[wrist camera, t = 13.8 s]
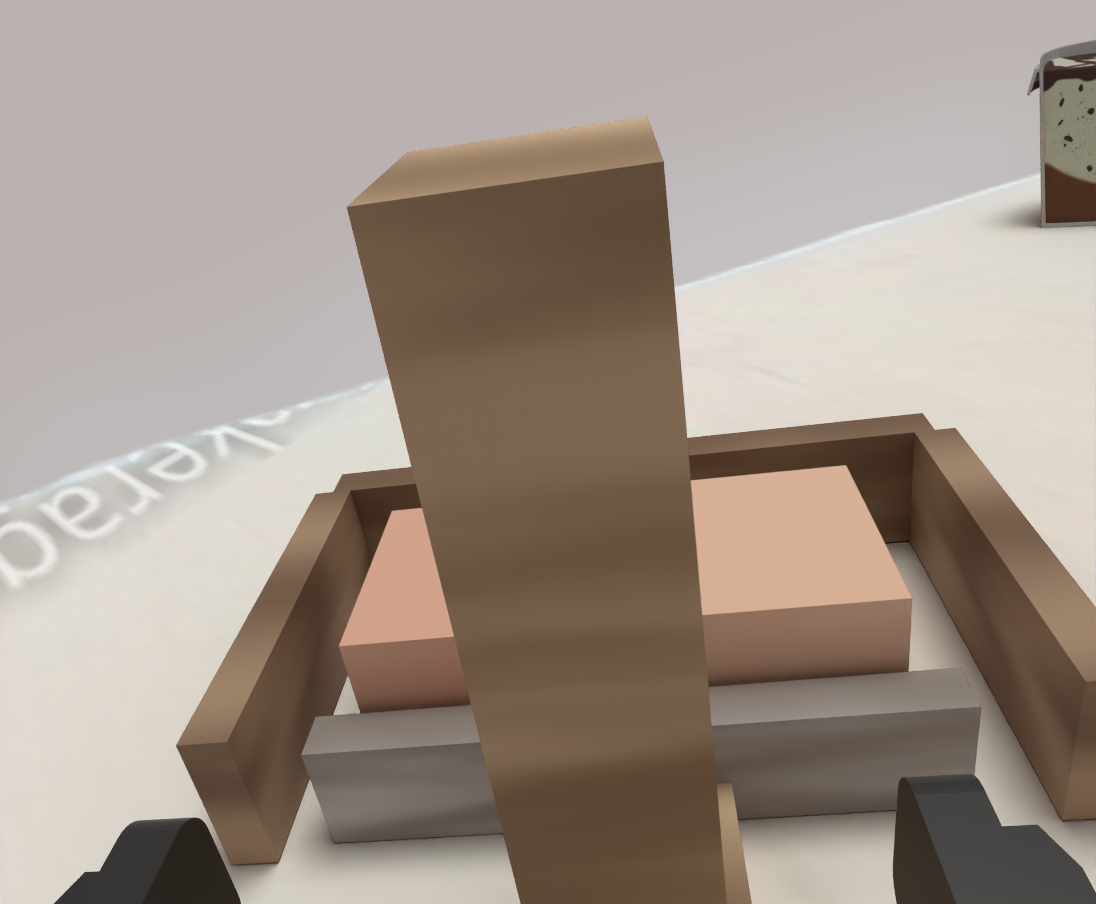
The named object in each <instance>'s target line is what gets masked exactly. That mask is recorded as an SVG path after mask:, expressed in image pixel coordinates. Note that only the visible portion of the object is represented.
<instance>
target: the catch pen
mask: <svg viewBox="0 0 1096 904" xmlns="http://www.w3.org/2000/svg"><path fill="white" fill-rule="evenodd" d="M687 442H688V454H689V466H690V477H691V480H701V479H711V478H721V477H731V476H742V475H752V474H762V473H772V472H782V471H792V470H802V469H813V468H823V467H833V466H843V465H846V466H847V468H848V470H849V472H850V474H851V476H852V478H853V480H854V482H855V484H856V486H857V488H858V490H859V492H860V494H861V496H862V498H863V500H864V502H865V504H866V506H867V508H868V510H869V512H870V514H871V516H872V518H873V520H874V522H875V524H876V526H877V528H878V530H879V532H880V534H881V536H882V538H883V541H884V543H887V542H898V541H910V542H911V544H912V546H913V548H914V550H915V552H916V553H917V555H918V557H919V559H920V561H921V563H922V564H923V566H924V568H925V570H926V572H927V574H928V575H929V577H930V579H931V581H932V583H933V585H934V586H935V588H936V590H937V592H938V594H939V596H940V597H941V599H942V601H943V603H944V605H945V607H946V608H947V610H948V612H949V614H950V616H951V618H952V619H953V621H954V623H955V625H956V627H957V629H958V630H959V632H960V634H961V636H962V638H963V640H964V641H965V643H966V645H967V647H968V649H969V651H970V652H971V654H972V656H973V658H974V660H975V662H976V663H977V665H978V667H979V669H980V671H981V673H982V674H983V676H984V678H985V680H986V682H987V684H988V685H989V687H990V689H991V691H992V693H993V695H994V696H995V698H996V700H997V702H998V704H999V706H1000V707H1001V709H1002V711H1003V713H1004V715H1005V717H1006V718H1007V720H1008V722H1009V724H1010V726H1011V728H1012V729H1013V731H1014V733H1015V735H1016V737H1017V739H1018V740H1019V742H1020V744H1021V746H1022V748H1023V750H1024V751H1025V753H1026V755H1027V757H1028V759H1029V761H1030V762H1031V764H1032V766H1033V768H1034V770H1035V772H1036V773H1037V775H1038V777H1039V779H1040V781H1041V783H1042V784H1043V786H1044V788H1045V790H1046V792H1047V794H1048V795H1049V797H1050V799H1051V801H1052V803H1053V805H1054V806H1055V808H1056V810H1057V812H1058V814H1059V816H1060V817H1061V819H1062V820H1078V819H1096V607H1095V606H1094V604H1093V603H1092V602H1091V601H1090V599H1089V598H1088V597H1087V595H1086V594H1085V593H1084V592H1083V590H1082V589H1081V588H1080V587H1079V585H1078V584H1077V583H1076V581H1075V580H1074V579H1073V578H1072V576H1071V575H1070V574H1069V572H1068V571H1067V570H1066V569H1065V567H1064V566H1063V565H1062V564H1061V562H1060V561H1059V560H1058V558H1057V557H1056V556H1055V555H1054V553H1053V552H1052V551H1051V550H1050V548H1049V547H1048V546H1047V544H1046V543H1045V542H1044V541H1043V539H1042V538H1041V537H1040V535H1039V534H1038V533H1037V532H1036V530H1035V529H1034V528H1033V527H1032V525H1031V524H1030V523H1029V521H1028V520H1027V519H1026V518H1025V516H1024V515H1023V514H1022V513H1021V511H1020V510H1019V509H1018V507H1017V506H1016V505H1015V504H1014V502H1013V501H1012V500H1011V498H1010V497H1009V496H1008V495H1007V493H1006V492H1005V491H1004V490H1003V488H1002V487H1001V486H1000V484H999V483H998V482H997V481H996V479H995V478H994V477H993V476H992V474H991V473H990V472H989V470H988V469H987V468H986V467H985V465H984V464H983V463H982V461H981V460H980V459H979V458H978V456H977V455H976V454H975V453H974V451H973V450H972V449H971V447H970V446H969V445H968V444H967V442H966V441H965V440H964V439H963V437H962V436H961V435H960V433H959V432H958V431H957V430H956V428H950V429H940V430H934V428H933V427H932V426H931V424H930V423H929V421H928V420H927V419H926V417H925V416H924V415H923V413H920V414H910V415H901V416H891V417H882V418H872V419H863V420H853V421H844V422H834V423H825V424H815V425H806V426H797V427H787V428H778V429H768V430H759V431H749V432H740V433H730V434H721V435H711V436H702V437H692V438H687ZM416 508H422V506H421V502H420V498H419V494H418V490H417V486H416V482H415V478H414V474H413V470H412V467H408V468H399V469H389V470H380V471H370V472H361V473H351V474H343V475H342V476H341V478H340V480H339V482H338V484H337V486H336V488H335V490H334V492H331V493H321V494H316V495H315V497H314V498H313V500H312V502H311V504H310V506H309V507H308V509H307V511H306V513H305V515H304V516H303V518H302V520H301V522H300V524H299V525H298V527H297V529H296V531H295V533H294V534H293V536H292V538H291V540H290V542H289V543H288V545H287V547H286V549H285V551H284V552H283V554H282V556H281V558H280V560H279V561H278V563H277V565H276V567H275V569H274V570H273V572H272V574H271V576H270V578H269V579H268V581H267V583H266V585H265V587H264V588H263V590H262V592H261V594H260V596H259V597H258V599H257V601H256V603H255V605H254V606H253V608H252V610H251V612H250V613H249V615H248V617H247V619H246V621H245V622H244V624H243V626H242V628H241V630H240V631H239V633H238V635H237V637H236V639H235V640H234V642H233V644H232V646H231V648H230V649H229V651H228V653H227V655H226V657H225V658H224V660H223V662H222V664H221V666H220V667H219V669H218V671H217V673H216V675H215V676H214V678H213V680H212V682H211V684H210V685H209V687H208V689H207V691H206V693H205V694H204V696H203V698H202V700H201V702H200V703H199V705H198V707H197V709H196V711H195V712H194V714H193V716H192V718H191V720H190V721H189V723H188V725H187V727H186V729H185V730H184V732H183V734H182V736H181V738H180V739H179V741H178V743H177V745H176V747H177V749H178V751H179V753H180V755H181V757H182V759H183V762H184V764H185V766H186V768H187V770H188V772H189V774H190V777H191V779H192V781H193V783H194V785H195V787H196V790H197V792H198V794H199V796H200V798H201V800H202V802H203V805H204V807H205V809H206V811H207V813H208V815H209V818H210V820H211V822H212V824H213V826H214V828H215V830H216V833H217V835H218V837H219V839H220V841H221V843H222V845H223V848H224V850H225V852H226V854H227V856H228V858H229V861H230V863H231V865H236V864H255V863H274V862H279V859H280V856H281V854H282V851H283V848H284V845H285V843H286V840H287V837H288V835H289V832H290V829H291V826H292V824H293V821H294V818H295V815H296V813H297V810H298V807H299V805H300V802H301V799H302V796H303V794H304V791H305V788H306V785H307V783H308V780H309V775H308V772H307V769H306V767H305V764H304V761H303V759H302V756H301V754H302V751H303V749H304V746H305V744H306V741H307V738H308V736H309V733H310V731H311V728H312V725H313V723H314V720H315V717H321V716H332V715H333V712H334V709H335V706H336V704H337V701H338V698H339V696H340V693H341V690H342V687H343V685H344V682H345V679H346V676H347V674H348V673H347V670H346V667H345V664H344V661H343V658H342V655H341V651H340V648H339V644H340V642H341V639H342V637H343V634H344V632H345V629H346V627H347V624H348V622H349V619H350V616H351V614H352V611H353V609H354V606H355V604H356V601H357V599H358V596H359V594H360V591H361V588H362V586H363V583H364V581H365V578H366V576H367V573H368V571H369V568H370V566H371V563H372V560H373V558H374V555H375V553H376V550H377V548H378V545H379V543H380V540H381V538H382V535H383V532H384V530H385V527H386V525H387V522H388V520H389V517H390V515H391V512H392V511H396V510H406V509H416Z"/></svg>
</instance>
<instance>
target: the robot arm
mask: <svg viewBox="0 0 1096 904" xmlns="http://www.w3.org/2000/svg"><path fill="white" fill-rule="evenodd" d="M893 880H894V889H895V896H896V902H897V904H1096V892H1095V890H1094V888H1093V887H1092V885H1091V883H1090V881H1089V879H1088V877H1087V876H1086V874H1085V872H1084V870H1083V868H1082V867H1081V866H1080V865H1079V864H1078V863H1077V862H1076V861H1075V860H1074V859H1073V858H1072V857H1071V856H1069V855H1068V854H1067V853H1066V852H1065V851H1064V850H1063V849H1062V848H1061V847H1060V846H1059V845H1058V844H1057V843H1056V842H1055V841H1054V840H1053V839H1052V838H1051V837H1050V836H1049V835H1048V834H1047V833H1046V832H1045V831H1043V830H1042V829H1041V828H1040V827H1039V826H1038V825H1023V826H1001V824H1000V822H999V819H998V817H997V815H996V813H995V811H994V809H993V807H992V805H991V803H990V800H989V798H988V796H987V794H986V792H985V790H984V788H983V786H982V784H981V783H980V781H979V780H978V779H977V778H976V776H974V775H973V774H956V775H938V776H919V777H902V778H901V779H900V781H899V784H898V794H897V810H896V825H895V841H894V857H893ZM54 904H241V902H240V898H239V896H238V893H237V891H236V889H235V887H234V884H233V882H232V880H231V878H230V876H229V873H228V871H227V869H226V867H225V865H224V862H223V860H222V858H221V856H220V854H219V852H218V849H217V847H216V845H215V843H214V841H213V838H212V836H211V834H210V832H209V830H208V828H207V826H206V824H205V823H204V822H203V821H202V820H201V819H199V818H178V819H159V820H140V821H135V822H133V823H131V824H130V825H128V826H127V827H126V828H125V829H124V830H123V832H122V833H121V834H120V836H119V838H118V839H117V841H116V843H115V845H114V846H113V848H112V850H111V852H110V853H109V855H108V857H107V859H106V861H105V862H104V864H103V866H102V868H101V870H100V871H99V872H84V874H83V875H82V876H81V877H80V878H79V879H78V880H77V881H76V882H75V883H74V884H73V885H72V886H71V887H70V888H69V889H68V890H67V891H66V892H65V893H64V894H63V895H62V896H61V897H60V898H59V899H58V900H57V901H56V902H55V903H54Z"/></svg>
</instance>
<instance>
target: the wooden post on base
mask: <svg viewBox="0 0 1096 904" xmlns="http://www.w3.org/2000/svg"><path fill="white" fill-rule="evenodd" d="M666 197H667V196H666V185H665V174H664V161H663V159H662V156H661V153H660V150H659V147H658V144H657V142H656V139H655V136H654V133H653V131H652V128H651V125H650V122H649V119H648V117H641V118H635V119H628V120H622V121H615V122H608V123H601V124H595V125H588V126H581V127H574V128H568V129H561V130H554V131H547V132H541V133H534V134H527V135H521V136H515V137H507V138H501V139H494V140H487V141H480V142H474V143H468V144H460V145H454V146H447V147H441V148H433V149H427V150H420V151H413V152H407V153H406V154H405V155H404V156H402V157H401V158H400V159H399V160H398V161H397V162H396V163H395V164H394V165H392V166H391V167H390V168H389V169H388V170H387V171H386V172H385V173H384V174H382V175H381V176H380V177H379V178H378V179H377V180H376V181H375V182H374V183H373V184H371V185H370V186H369V187H368V188H367V189H366V190H365V191H364V192H363V193H361V195H359V196H358V197H357V198H356V199H355V200H354V201H353V202H352V203H350V204H349V205H348V206H347V210H348V214H349V218H350V222H351V226H352V230H353V234H354V237H355V242H356V246H357V250H358V254H359V258H360V262H361V266H362V270H363V274H364V278H365V282H366V286H367V289H368V294H369V298H370V302H371V306H372V310H373V314H374V318H375V322H376V326H377V330H378V334H379V338H380V342H381V346H382V350H383V354H384V358H385V362H386V366H387V370H388V373H389V378H390V382H391V386H392V390H393V394H394V398H395V402H396V406H397V410H398V414H399V418H400V422H401V426H402V430H403V434H404V438H405V442H406V446H407V450H408V454H409V458H410V462H411V466H412V470H413V474H414V478H415V482H416V486H417V490H418V494H419V498H420V502H421V506H422V510H423V514H424V518H425V522H426V526H427V530H428V534H429V538H430V542H431V546H432V550H433V554H434V558H435V562H436V566H437V570H438V574H439V578H440V582H441V586H442V590H443V594H444V598H445V602H446V606H447V610H448V614H449V618H450V622H451V626H452V630H453V634H454V638H455V642H456V646H457V650H458V654H459V658H460V662H461V666H462V670H463V674H464V678H465V682H466V686H467V690H468V694H469V698H470V702H471V705H465V706H452V707H439V708H426V709H413V710H400V711H387V712H374V713H360V714H347V715H334V716H321V717H315V720H314V723H313V725H312V728H311V731H310V733H309V736H308V738H307V741H306V744H305V746H304V749H303V751H302V754H301V756H302V759H303V761H304V764H305V767H306V769H307V772H308V775H309V777H310V780H311V782H312V785H313V788H314V790H315V793H316V796H317V798H318V801H319V804H320V806H321V809H322V811H323V814H324V817H325V819H326V822H327V825H328V827H329V830H330V832H331V835H332V838H333V840H334V843H347V842H364V841H380V840H397V839H414V838H431V837H448V836H465V835H482V834H498V833H503V835H504V839H505V843H506V847H507V851H508V855H509V859H510V863H511V867H512V871H513V875H514V879H515V883H516V887H517V891H518V895H519V899H520V903H521V904H752V903H751V897H750V891H749V885H748V879H747V873H746V867H745V861H744V855H743V849H742V843H741V836H740V830H739V824H738V819H751V818H768V817H785V816H802V815H819V814H836V813H852V812H869V811H886V810H897V794H898V784H899V781H900V779H901V778H902V777H919V776H938V775H956V774H973V775H974V773H975V763H976V753H977V743H978V734H979V724H980V714H981V705H980V703H979V701H978V699H977V698H976V696H975V694H974V692H973V690H972V688H971V686H970V684H969V682H968V680H967V679H966V677H965V675H964V673H963V671H962V669H961V668H951V669H938V670H925V671H912V672H899V673H885V674H872V675H859V676H846V677H833V678H820V679H807V680H794V681H780V682H767V683H754V684H741V685H728V686H715V687H708V676H707V665H706V653H705V641H704V629H703V618H702V606H701V594H700V583H699V571H698V559H697V548H696V536H695V524H694V512H693V501H692V489H691V477H690V466H689V454H688V442H687V430H686V419H685V407H684V395H683V384H682V372H681V360H680V349H679V337H678V325H677V313H676V302H675V290H674V278H673V267H672V255H671V243H670V232H669V221H668V208H667V198H666Z"/></svg>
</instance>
